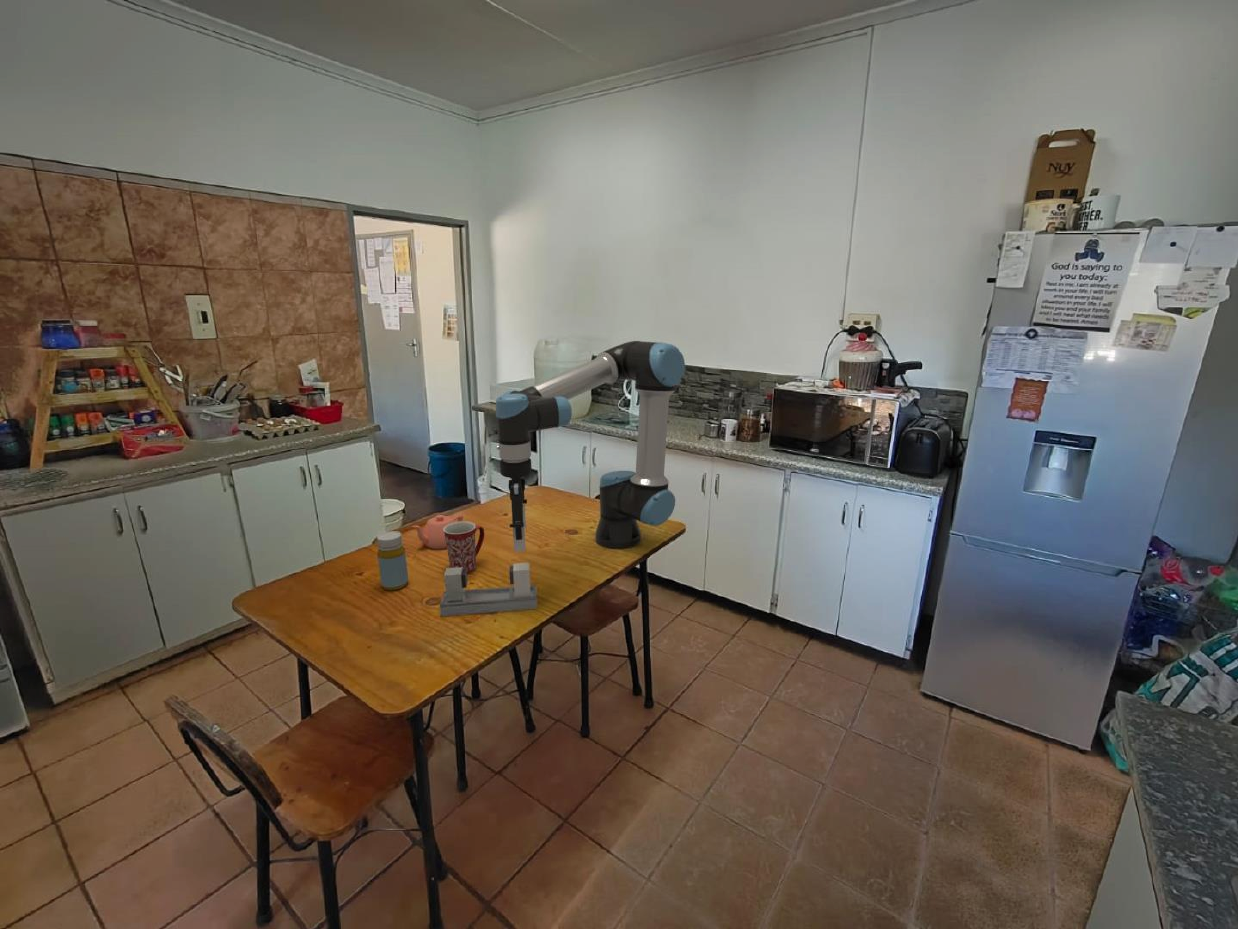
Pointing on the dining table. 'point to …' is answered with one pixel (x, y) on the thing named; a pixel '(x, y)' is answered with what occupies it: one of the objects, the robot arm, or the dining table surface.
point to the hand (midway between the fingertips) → (520, 539)
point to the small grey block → (520, 579)
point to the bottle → (392, 561)
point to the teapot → (436, 531)
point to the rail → (480, 597)
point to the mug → (463, 544)
